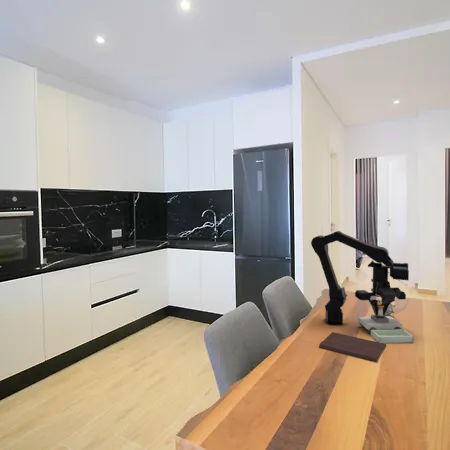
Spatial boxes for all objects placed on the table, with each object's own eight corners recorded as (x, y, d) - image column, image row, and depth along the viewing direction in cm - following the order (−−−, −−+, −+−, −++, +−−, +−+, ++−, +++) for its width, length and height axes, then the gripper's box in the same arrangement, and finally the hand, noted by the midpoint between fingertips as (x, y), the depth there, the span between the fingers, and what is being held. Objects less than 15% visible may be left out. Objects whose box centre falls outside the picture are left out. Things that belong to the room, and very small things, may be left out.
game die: (389, 325, 150) (402, 311, 144) (371, 318, 150) (384, 305, 144) (385, 310, 157) (397, 297, 152) (368, 304, 157) (380, 290, 152)
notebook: (332, 335, 132) (332, 330, 132) (385, 347, 120) (385, 342, 120) (319, 349, 120) (319, 343, 120) (376, 364, 108) (376, 358, 108)
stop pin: (377, 321, 134) (377, 305, 133) (373, 319, 137) (373, 303, 136) (385, 321, 134) (386, 305, 133) (381, 318, 137) (381, 303, 136)
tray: (379, 343, 122) (379, 337, 122) (370, 336, 129) (370, 329, 129) (413, 342, 123) (413, 336, 122) (403, 335, 130) (403, 329, 129)
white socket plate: (368, 334, 131) (368, 321, 130) (358, 325, 140) (358, 313, 140) (402, 333, 131) (402, 320, 130) (390, 325, 140) (390, 312, 140)
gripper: (366, 283, 126) (366, 322, 127) (414, 282, 126) (413, 321, 127) (354, 276, 137) (354, 313, 138) (398, 275, 137) (397, 311, 138)
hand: (379, 314), depth 135 cm, fingers closed on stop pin, 3 cm apart
